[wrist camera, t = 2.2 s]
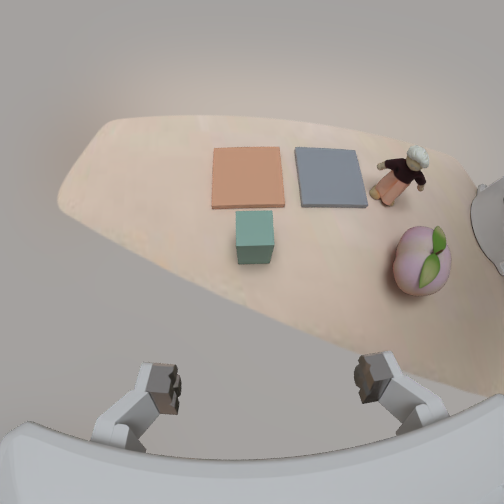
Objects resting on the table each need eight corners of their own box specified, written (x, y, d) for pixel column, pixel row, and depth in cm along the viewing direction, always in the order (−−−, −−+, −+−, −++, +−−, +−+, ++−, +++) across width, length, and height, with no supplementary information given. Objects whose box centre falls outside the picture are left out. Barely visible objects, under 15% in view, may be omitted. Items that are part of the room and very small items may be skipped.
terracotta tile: (278, 150, 42) (279, 146, 41) (284, 207, 39) (284, 204, 38) (214, 152, 42) (214, 148, 41) (212, 209, 39) (211, 205, 38)
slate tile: (353, 153, 42) (355, 150, 41) (365, 207, 40) (368, 204, 39) (294, 150, 42) (295, 147, 41) (301, 207, 39) (302, 203, 38)
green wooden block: (267, 234, 38) (272, 210, 31) (269, 263, 37) (274, 245, 30) (237, 235, 38) (235, 211, 31) (238, 264, 37) (236, 246, 30)
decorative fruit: (419, 310, 35) (462, 300, 25) (374, 291, 36) (411, 275, 26) (430, 253, 38) (469, 231, 28) (388, 233, 38) (422, 204, 29)
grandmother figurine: (363, 200, 40) (399, 152, 28) (364, 180, 41) (397, 129, 29) (405, 214, 39) (449, 173, 27) (405, 193, 41) (445, 150, 28)
